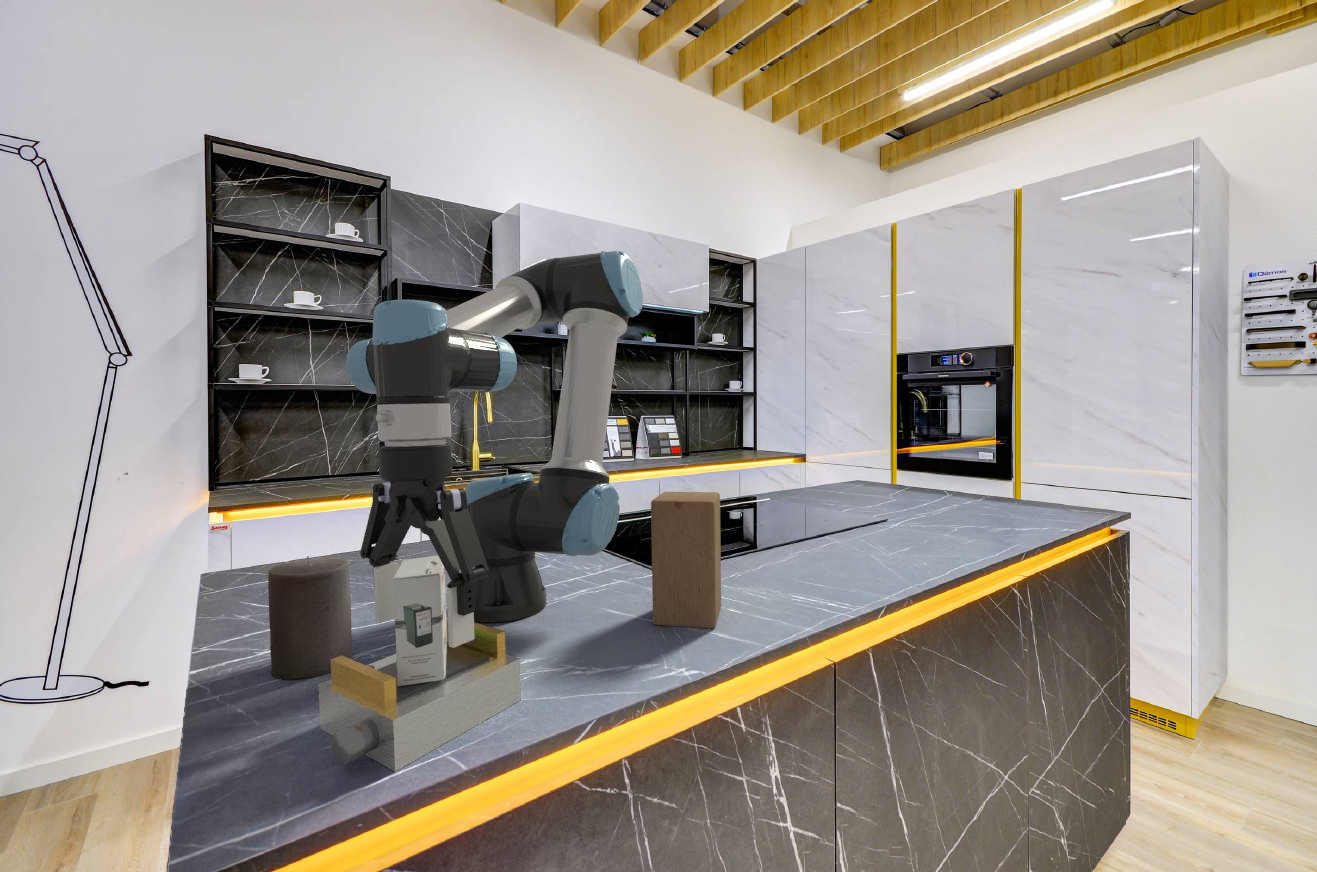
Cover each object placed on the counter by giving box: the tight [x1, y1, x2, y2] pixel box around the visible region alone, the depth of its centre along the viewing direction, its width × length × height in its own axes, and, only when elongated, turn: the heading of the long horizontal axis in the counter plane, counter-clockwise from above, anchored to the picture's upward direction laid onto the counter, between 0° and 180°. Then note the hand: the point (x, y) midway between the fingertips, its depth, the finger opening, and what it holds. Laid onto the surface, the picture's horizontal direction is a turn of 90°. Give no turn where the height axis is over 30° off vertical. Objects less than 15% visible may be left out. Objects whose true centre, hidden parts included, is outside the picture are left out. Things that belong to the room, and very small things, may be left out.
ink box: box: [393, 555, 447, 686], centre depth 65 cm, size 9×5×12 cm, turn 18°
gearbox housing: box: [318, 616, 522, 772], centre depth 64 cm, size 14×19×8 cm
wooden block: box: [650, 491, 722, 629], centre depth 94 cm, size 10×10×20 cm
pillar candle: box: [267, 555, 353, 681], centre depth 79 cm, size 10×10×15 cm
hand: (423, 630), depth 65 cm, fingers open, 13 cm apart
